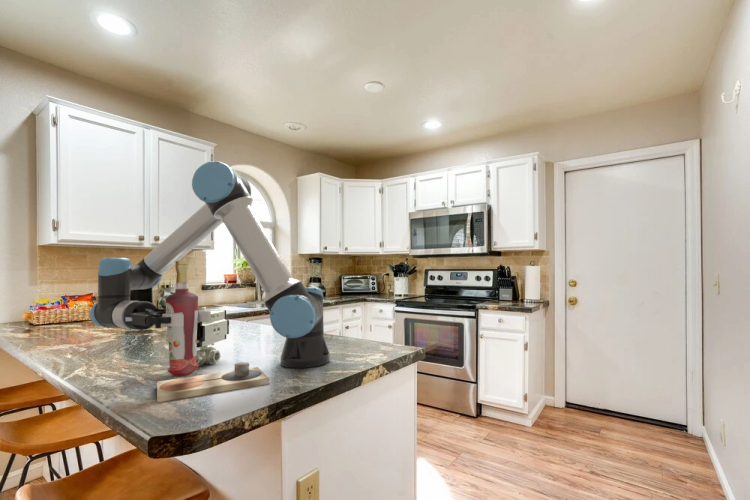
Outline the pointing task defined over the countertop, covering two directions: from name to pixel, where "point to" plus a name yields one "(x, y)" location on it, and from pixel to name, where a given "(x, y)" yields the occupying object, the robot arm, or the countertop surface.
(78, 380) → the countertop surface
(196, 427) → the countertop surface
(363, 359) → the countertop surface
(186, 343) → the liquor
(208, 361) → the ball valve
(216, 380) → the board
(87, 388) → the countertop surface
